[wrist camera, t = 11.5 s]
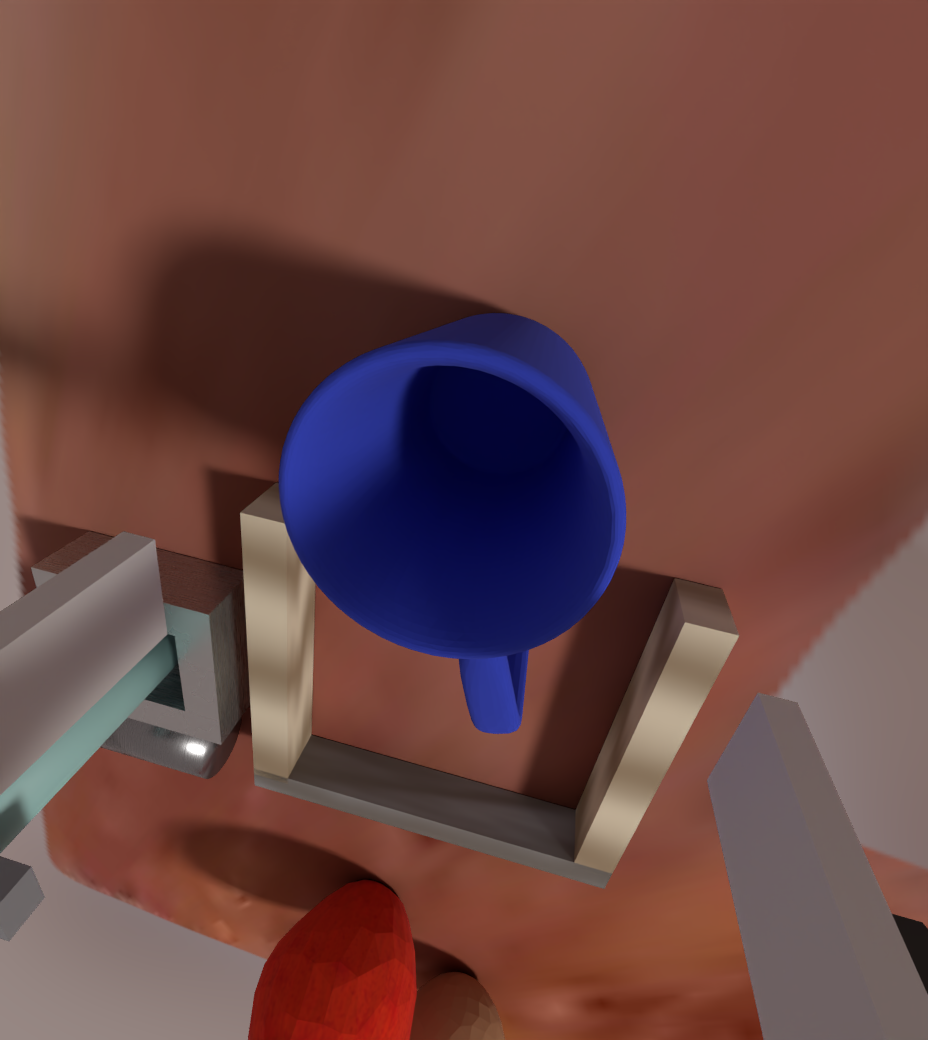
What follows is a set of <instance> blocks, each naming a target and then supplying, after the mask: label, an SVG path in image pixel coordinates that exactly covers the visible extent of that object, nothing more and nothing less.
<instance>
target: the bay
mask: <svg viewBox="0 0 928 1040" xmlns="http://www.w3.org/2000/svg"><path fill="white" fill-rule="evenodd" d="M240 519H241V538H242V556H243V575H244V593H245V612H246V630H247V649H248V668H249V686H250V705H251V723H252V742H253V760H254V779H255V785H256V786H259V787H263V788H266V789H270V790H273V791H276V792H280V793H283V794H286V795H290V796H293V797H297V798H300V799H303V800H307V801H310V802H313V803H317V804H320V805H324V806H327V807H330V808H334V809H337V810H340V811H344V812H347V813H350V814H354V815H357V816H361V817H364V818H367V819H371V820H374V821H377V822H381V823H384V824H388V825H391V826H394V827H398V828H401V829H404V830H408V831H411V832H415V833H418V834H421V835H425V836H428V837H431V838H435V839H438V840H441V841H445V842H448V843H452V844H455V845H458V846H462V847H465V848H468V849H472V850H475V851H479V852H482V853H485V854H489V855H492V856H495V857H499V858H502V859H506V860H509V861H512V862H516V863H519V864H522V865H526V866H529V867H532V868H536V869H539V870H543V871H546V872H549V873H553V874H556V875H559V876H563V877H566V878H570V879H573V880H576V881H580V882H583V883H586V884H590V885H593V886H597V887H600V888H603V889H604V888H605V886H606V884H607V882H608V881H609V879H610V877H611V875H612V873H613V871H614V869H615V867H616V866H617V864H618V862H619V860H620V858H621V856H622V854H623V852H624V851H625V849H626V847H627V845H628V843H629V841H630V839H631V837H632V836H633V834H634V832H635V830H636V828H637V826H638V824H639V822H640V821H641V819H642V817H643V815H644V813H645V811H646V809H647V807H648V806H649V804H650V802H651V800H652V798H653V796H654V794H655V792H656V791H657V789H658V787H659V785H660V783H661V781H662V779H663V777H664V776H665V774H666V772H667V770H668V768H669V766H670V764H671V762H672V761H673V759H674V757H675V755H676V753H677V751H678V749H679V747H680V746H681V744H682V742H683V740H684V738H685V736H686V734H687V732H688V731H689V729H690V727H691V725H692V723H693V721H694V719H695V717H696V716H697V714H698V712H699V710H700V708H701V706H702V704H703V702H704V701H705V699H706V697H707V695H708V693H709V691H710V689H711V687H712V686H713V684H714V682H715V680H716V678H717V676H718V674H719V672H720V671H721V669H722V667H723V665H724V663H725V661H726V659H727V657H728V656H729V654H730V652H731V650H732V648H733V646H734V644H735V642H736V641H737V639H738V637H739V634H738V631H737V628H736V626H735V623H734V620H733V617H732V614H731V612H730V609H729V606H728V603H727V600H726V598H725V595H724V592H723V589H719V588H715V587H710V586H706V585H702V584H698V583H694V582H690V581H685V580H681V579H677V578H674V581H673V583H672V585H671V588H670V590H669V592H668V595H667V597H666V599H665V602H664V604H663V606H662V609H661V611H660V613H659V616H658V618H657V620H656V623H655V625H654V627H653V630H652V632H651V635H650V637H649V639H648V642H647V644H646V646H645V649H644V651H643V653H642V656H641V658H640V660H639V663H638V665H637V667H636V670H635V672H634V674H633V677H632V679H631V681H630V684H629V686H628V688H627V691H626V693H625V695H624V698H623V700H622V702H621V705H620V707H619V709H618V712H617V714H616V716H615V719H614V721H613V723H612V726H611V728H610V731H609V733H608V735H607V738H606V740H605V742H604V745H603V747H602V749H601V752H600V754H599V756H598V759H597V761H596V763H595V766H594V768H593V770H592V773H591V775H590V777H589V780H588V782H587V784H586V787H585V789H584V791H583V794H582V796H581V798H580V801H579V803H578V805H577V808H576V810H574V809H570V808H567V807H563V806H560V805H556V804H553V803H549V802H546V801H542V800H539V799H535V798H532V797H528V796H525V795H521V794H518V793H514V792H511V791H507V790H504V789H500V788H496V787H493V786H489V785H486V784H482V783H479V782H475V781H472V780H468V779H465V778H461V777H458V776H454V775H451V774H447V773H444V772H440V771H437V770H433V769H430V768H426V767H423V766H419V765H416V764H412V763H409V762H405V761H402V760H398V759H395V758H391V757H387V756H384V755H380V754H377V753H373V752H370V751H366V750H363V749H359V748H356V747H352V746H349V745H345V744H342V743H338V742H335V741H331V740H328V739H324V738H321V737H317V736H314V735H311V729H312V691H313V652H314V614H315V582H314V581H313V579H312V578H311V577H310V575H309V574H308V572H307V571H306V569H305V568H304V566H303V565H302V563H301V561H300V559H299V557H298V555H297V553H296V551H295V549H294V547H293V545H292V543H291V540H290V538H289V535H288V533H287V530H286V526H285V523H284V519H283V515H282V510H281V504H280V496H279V483H275V484H274V485H273V486H271V487H270V488H269V489H268V490H267V491H265V492H264V493H263V494H262V495H261V496H259V497H258V498H257V499H256V500H255V501H253V502H252V503H251V504H250V505H249V506H247V507H246V508H245V509H244V510H243V511H241V512H240Z"/></svg>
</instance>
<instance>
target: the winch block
mask: <svg viewBox="0 0 928 1040" xmlns="http://www.w3.org/2000/svg"><path fill="white" fill-rule="evenodd" d="M113 538H114V537H111V536H107V535H103V534H99V533H95V532H91V531H88V532H87V533H85V534H83V535H82V536H80V537H79V538H77V539H75V540H74V541H72V542H71V543H69V544H67V545H66V546H64V547H63V548H61V549H59V550H58V551H56V552H55V553H53V554H51V555H50V556H48V557H46V558H45V559H43V560H42V561H40V562H38V563H37V564H35V565H34V566H32V567H31V570H32V573H33V577H34V580H35V584H36V587H39V586H40V585H42V584H43V583H45V582H46V581H48V580H50V579H51V578H53V577H54V576H56V575H57V574H59V573H60V572H62V571H63V570H65V569H66V568H68V567H69V566H71V565H73V564H74V563H76V562H77V561H79V560H80V559H82V558H83V557H85V556H86V555H88V554H89V553H91V552H93V551H94V550H96V549H97V548H99V547H100V546H102V545H103V544H105V543H106V542H108V541H109V540H111V539H113ZM156 552H157V560H158V567H159V575H160V582H161V590H162V597H163V605H164V612H165V620H166V627H167V634H170V635H173V636H175V642H176V649H177V656H178V664H177V665H176V666H175V667H174V668H173V669H172V670H171V672H170V673H169V674H168V675H167V676H166V677H165V678H164V679H163V680H162V681H161V682H160V683H159V684H158V685H157V687H156V688H155V689H154V690H153V691H152V692H151V693H150V694H149V695H148V696H147V697H146V698H145V699H144V700H143V701H142V703H141V704H140V705H139V706H138V707H137V708H136V709H135V710H134V711H133V712H132V713H131V714H130V715H129V716H128V717H127V719H126V720H125V721H124V722H123V723H122V724H121V725H120V726H119V727H118V728H117V729H116V730H115V731H114V732H113V734H112V735H111V736H110V737H109V738H108V739H107V740H106V741H105V742H104V743H103V744H102V745H101V746H100V747H101V748H105V749H108V750H111V751H115V752H118V753H121V754H125V755H128V756H131V757H135V758H138V759H141V760H145V761H148V762H151V763H155V764H158V765H162V766H165V767H168V768H172V769H175V770H178V771H182V772H185V773H188V774H192V775H195V776H198V777H202V778H205V779H209V778H212V777H213V776H215V775H216V774H217V773H218V772H219V771H220V769H221V768H222V767H223V765H224V764H225V762H226V761H227V759H228V757H229V756H230V754H231V752H232V750H233V748H234V745H235V743H236V740H237V737H238V734H239V730H240V726H241V716H242V715H243V714H244V712H245V711H246V709H247V708H248V707H249V705H250V686H249V668H248V649H247V630H246V612H245V593H244V575H243V570H239V569H235V568H231V567H227V566H223V565H219V564H215V563H212V562H208V561H204V560H200V559H196V558H192V557H188V556H184V555H180V554H177V553H173V552H169V551H165V550H161V549H157V548H156Z"/></svg>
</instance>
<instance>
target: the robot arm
mask: <svg viewBox="0 0 928 1040" xmlns="http://www.w3.org/2000/svg"><path fill="white" fill-rule="evenodd" d="M166 635H167V627H166V620H165V612H164V605H163V597H162V590H161V582H160V575H159V567H158V560H157V552H156V545H155V539H151V538H147V537H143V536H139V535H135V534H131V533H127V532H122V533H120V534H119V535H117V536H116V537H114V538H113V539H111V540H109V541H108V542H106V543H105V544H103V545H102V546H100V547H99V548H97V549H96V550H94V551H93V552H91V553H89V554H88V555H86V556H85V557H83V558H82V559H80V560H79V561H77V562H76V563H74V564H73V565H71V566H69V567H68V568H66V569H65V570H63V571H62V572H60V573H59V574H57V575H56V576H54V577H53V578H51V579H50V580H48V581H46V582H45V583H43V584H42V585H40V586H39V587H37V588H36V589H34V590H33V591H31V592H30V593H28V594H26V595H25V596H23V597H22V598H20V599H19V600H17V601H16V602H14V603H13V604H11V605H10V606H8V607H6V608H5V609H3V610H2V611H0V795H1V794H2V793H3V792H4V791H5V790H6V789H7V788H8V787H9V786H11V785H12V784H13V783H14V782H15V781H16V780H17V779H18V778H19V777H20V776H21V775H22V774H23V773H24V772H25V771H26V770H27V769H28V768H29V767H30V766H31V765H32V764H33V763H34V762H35V761H36V760H37V759H39V758H40V757H41V756H42V755H43V754H44V753H45V752H46V751H47V750H48V749H49V748H50V747H51V746H52V745H53V744H54V743H55V742H56V741H57V740H58V739H59V738H60V737H61V736H62V735H63V734H64V733H65V732H67V731H68V730H69V729H70V728H71V727H72V726H73V725H74V724H75V723H76V722H77V721H78V720H79V719H80V718H81V717H82V716H83V715H84V714H85V713H86V712H87V711H88V710H89V709H90V708H91V707H92V706H93V705H95V704H96V703H97V702H98V701H99V700H100V699H101V698H102V697H103V696H104V695H105V694H106V693H107V692H108V691H109V690H110V689H111V688H112V687H113V686H114V685H115V684H116V683H117V682H118V681H119V680H120V679H121V678H123V677H124V676H125V675H126V674H127V673H128V672H129V671H130V670H131V669H132V668H133V667H134V666H135V665H136V664H137V663H138V662H139V661H140V660H141V659H142V658H143V657H144V656H145V655H146V654H147V653H148V652H149V651H151V650H152V649H153V648H154V647H155V646H156V645H157V644H158V643H159V642H160V641H161V640H162V639H163V638H164V637H165V636H166ZM707 782H708V787H709V792H710V796H711V801H712V805H713V810H714V814H715V819H716V823H717V828H718V833H719V837H720V842H721V846H722V851H723V855H724V860H725V865H726V869H727V874H728V878H729V883H730V887H731V892H732V897H733V901H734V906H735V910H736V915H737V919H738V924H739V928H740V933H741V938H742V942H743V947H744V951H745V956H746V960H747V965H748V970H749V974H750V979H751V983H752V988H753V992H754V997H755V1002H756V1006H757V1011H758V1015H759V1020H760V1024H761V1029H762V1033H763V1038H764V1040H928V929H927V928H926V926H925V925H924V924H923V923H922V922H919V921H915V920H912V919H908V918H905V917H901V916H898V915H894V914H892V913H891V911H890V909H889V907H888V905H887V902H886V900H885V898H884V896H883V893H882V891H881V889H880V887H879V884H878V882H877V880H876V878H875V875H874V873H873V871H872V869H871V866H870V864H869V862H868V860H867V857H866V855H865V853H864V851H863V849H862V846H861V844H860V842H859V840H858V837H857V836H856V833H855V831H854V828H853V826H852V824H851V822H850V819H849V817H848V815H847V813H846V810H845V808H844V806H843V804H842V801H841V799H840V797H839V795H838V793H837V790H836V788H835V786H834V784H833V781H832V779H831V777H830V775H829V772H828V770H827V768H826V766H825V763H824V761H823V759H822V757H821V754H820V752H819V750H818V748H817V745H816V743H815V741H814V739H813V737H812V734H811V732H810V730H809V728H808V725H807V723H806V721H805V719H804V716H803V714H802V712H801V710H800V708H799V705H798V703H796V702H792V701H789V700H785V699H781V698H777V697H773V696H769V695H765V694H761V693H758V694H757V695H756V697H755V699H754V700H753V702H752V704H751V706H750V707H749V709H748V711H747V712H746V714H745V716H744V718H743V719H742V721H741V723H740V724H739V726H738V728H737V730H736V731H735V733H734V735H733V737H732V738H731V740H730V742H729V743H728V745H727V747H726V749H725V750H724V752H723V754H722V755H721V757H720V759H719V761H718V762H717V764H716V766H715V767H714V769H713V771H712V773H711V774H710V776H709V778H708V780H707Z"/></svg>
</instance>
